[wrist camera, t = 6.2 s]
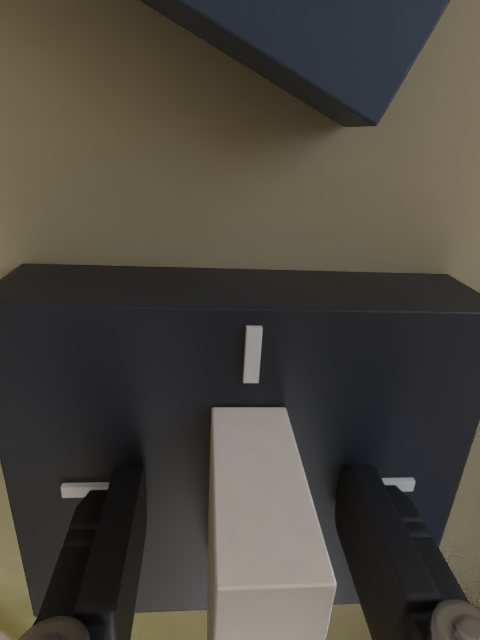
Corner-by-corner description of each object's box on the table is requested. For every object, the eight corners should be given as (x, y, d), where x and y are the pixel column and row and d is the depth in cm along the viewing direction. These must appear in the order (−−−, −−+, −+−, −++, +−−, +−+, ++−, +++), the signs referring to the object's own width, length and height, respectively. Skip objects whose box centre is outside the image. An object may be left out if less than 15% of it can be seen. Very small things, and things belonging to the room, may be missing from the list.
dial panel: (448, 273, 13) (520, 315, 10) (386, 524, 17) (424, 606, 14) (21, 263, 12) (-39, 306, 9) (63, 532, 16) (31, 623, 13)
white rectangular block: (211, 406, 10) (214, 606, 6) (286, 406, 10) (343, 601, 6) (207, 554, 12) (207, 786, 8) (270, 553, 12) (304, 779, 8)
